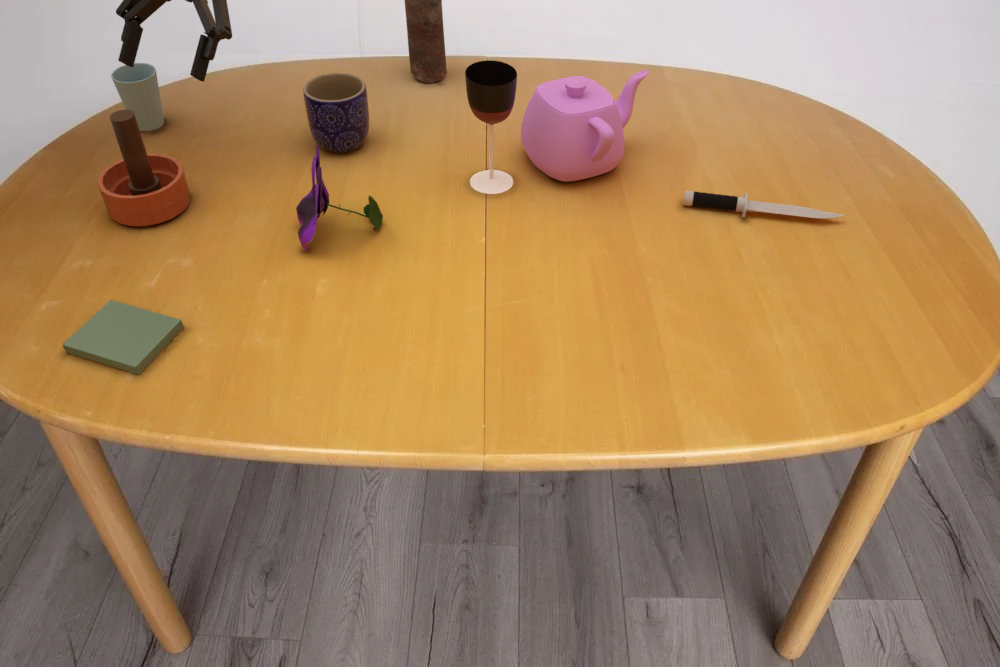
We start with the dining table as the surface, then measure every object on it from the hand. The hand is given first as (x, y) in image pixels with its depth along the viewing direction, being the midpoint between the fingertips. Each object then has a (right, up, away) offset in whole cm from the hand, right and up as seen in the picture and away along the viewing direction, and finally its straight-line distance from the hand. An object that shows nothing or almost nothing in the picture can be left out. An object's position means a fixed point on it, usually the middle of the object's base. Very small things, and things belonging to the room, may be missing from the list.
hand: (160, 71), depth 139 cm
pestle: (-4, -20, +5) cm, 21 cm away
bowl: (-4, -21, +6) cm, 22 cm away
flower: (+29, -26, +1) cm, 39 cm away
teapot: (+67, -11, +17) cm, 70 cm away
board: (+2, -43, -18) cm, 46 cm away
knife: (+97, -22, +5) cm, 100 cm away
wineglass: (+52, -16, +11) cm, 56 cm away
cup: (-12, -3, +25) cm, 28 cm away
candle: (+39, +11, +40) cm, 57 cm away
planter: (+25, -7, +20) cm, 33 cm away
